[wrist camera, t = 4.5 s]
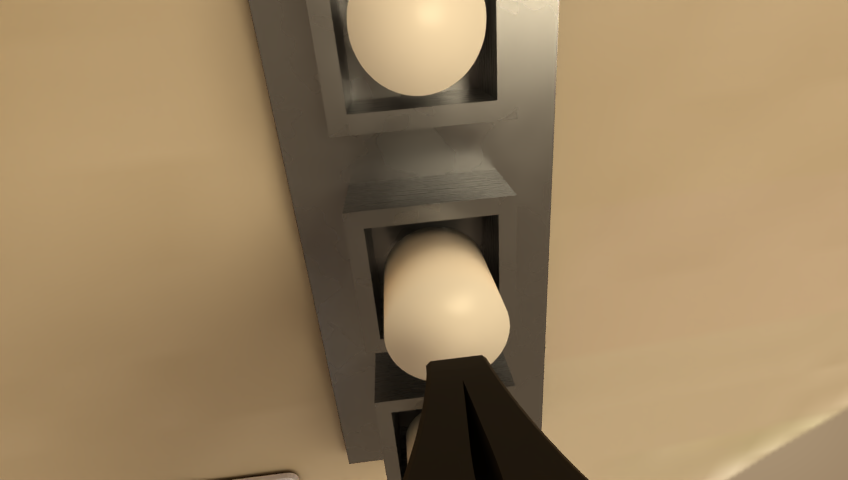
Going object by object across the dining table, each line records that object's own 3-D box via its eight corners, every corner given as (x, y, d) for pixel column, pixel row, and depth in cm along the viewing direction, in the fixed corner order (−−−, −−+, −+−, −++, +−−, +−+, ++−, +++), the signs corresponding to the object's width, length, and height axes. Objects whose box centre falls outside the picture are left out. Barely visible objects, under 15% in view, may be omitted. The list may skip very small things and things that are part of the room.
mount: (535, 424, 24) (561, 492, 21) (350, 447, 24) (344, 521, 20) (553, -129, 14) (611, -183, 11) (233, -105, 14) (181, -152, 10)
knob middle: (486, 309, 17) (509, 374, 14) (389, 320, 17) (391, 388, 14) (483, 221, 15) (509, 270, 12) (377, 232, 15) (376, 285, 12)
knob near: (466, 77, 16) (487, 89, 12) (362, 87, 15) (357, 101, 12) (462, -44, 14) (484, -66, 11) (346, -35, 14) (335, -54, 11)
